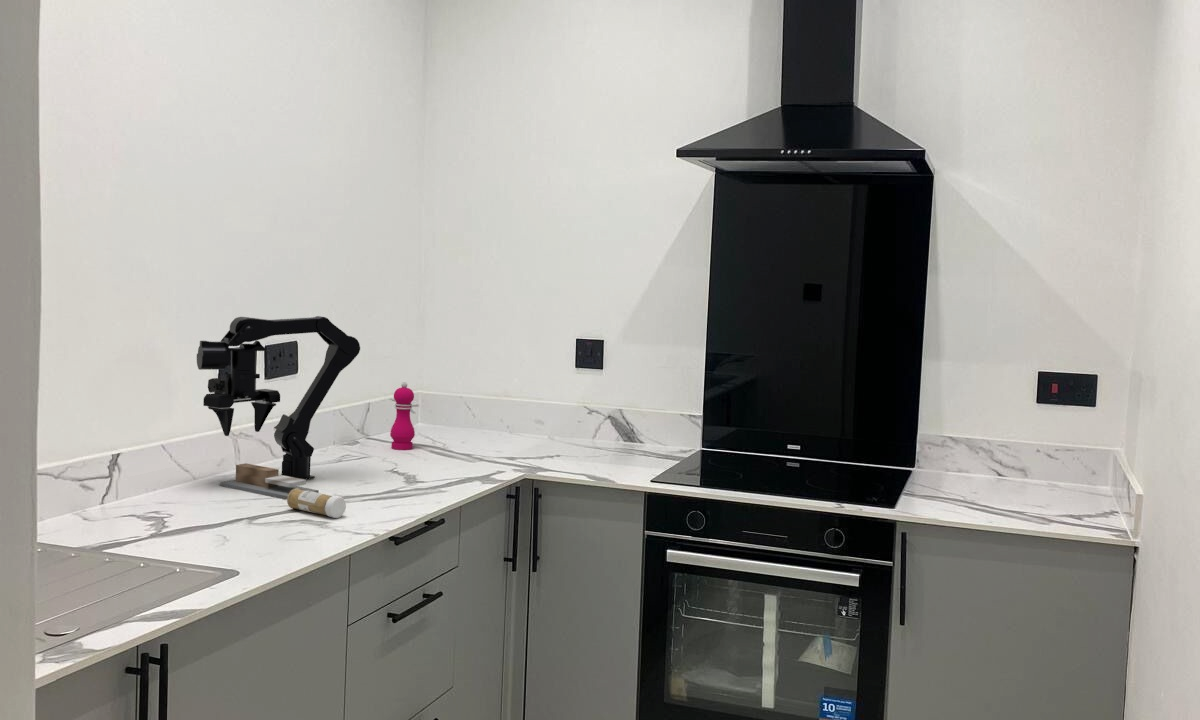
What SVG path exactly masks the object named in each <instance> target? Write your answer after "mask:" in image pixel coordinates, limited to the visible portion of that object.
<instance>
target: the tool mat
mask: <svg viewBox="0 0 1200 720" xmlns="http://www.w3.org/2000/svg"><path fill="white" fill-rule="evenodd" d="M219 487H224V488H228V489H229V488H230V489H234V490H240V491H243V492H249V493H254V494H258V495H262V496H263V495H264V496H268V497H273V498H277V499H282V500H283V499H284V500H286V501H287V497H288V494H289V493H290V491H291V490H293V489H295V488H298V489H300V490H305V491H312V492H317V493H320V491H319V489H314V488H308V487H303V486H300V485H299V486H295V487H285V486H280V485H278V486H277V487H272V488H265V487H260V486H255V485H250V484H245V483H241V482H236V478H235V479H231V480H226V481H220V482H219Z"/></svg>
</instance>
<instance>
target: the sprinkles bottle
mask: <svg viewBox="0 0 1200 720" xmlns="http://www.w3.org/2000/svg"><path fill="white" fill-rule="evenodd" d="M286 502H287V506H288V507H289V508H290V509H293V510H294V509H295V510H300V511H303V512H304V511H305V512H309V513H313V514H318V515H324V516H328V517H329V518H333V519H339V518H341V517H343V515H344V513H345V512H346V508H347V503H346V500H345V498H343V497H341V496H337V495H329V494H326V493H325V494H324V493H321V492H319V493H317V492H312V491H305V490H300V489H298V488H295V489H293V490H291V491H290V493H289V494H288V497H287V500H286Z"/></svg>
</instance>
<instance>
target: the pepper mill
mask: <svg viewBox="0 0 1200 720" xmlns="http://www.w3.org/2000/svg"><path fill="white" fill-rule="evenodd" d="M414 399H415V393H414V391H413V390H412V389H411V388H409V387H408V383H407V382H402V383H401V387H399V388H397V389H396V390H395V391H394V393H393V400H394V401H395V405H394V408H395V409H396V417H395V420H394V422H393V423H392V424H393V425H392V426H391V429H390V435H389V436H390V437H391V439H392V442H391V449H393V450H396V451H408V450H412V449H413V448H414V447H413V444H414V443H413V441H412V440H414V438H415V435H416V433H415V432H416V431H415V428H414V425H413V423H412V419H411V409H412V408H413V404H412V402H413V401H414Z"/></svg>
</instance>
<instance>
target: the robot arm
mask: <svg viewBox="0 0 1200 720" xmlns="http://www.w3.org/2000/svg"><path fill="white" fill-rule="evenodd" d="M311 333H313V334H314V333H315V334H318V336H319V337H320V338H321V339H322V341H324V342H325V343H326V344H327V345H328V347H327V349H326V352H325V356H324V362H323V365H322V366H321V367H320V370H319V371H318V373H316V376H315V378H314V379H313V381H312V383H311V384H310V385H309V388H307V391H306V392H305V394H304V396H303V397H302V399H301V400H300V401H299V404H298V405H297V407H296V408H295V409H294V411H293V412H292V413H291V414H290V415H286V414H284V413H283V414H282V416H281V417H280V420H279V421H278V424H276V425H275V426H274V429H275V431H274V433H273V437H274V440H275V443H276V444H277V445H279V446H280V449H281V451H282V453H285V454H283V455H282V461H281V475H284V476H289V477H294V478H299V479H304V480H306V481H307V480H311V479H312V480H313V479H315V477H316V476H315V475H311V457H312V455H313V453H314V450H315V448H314V447H313V446H312V445H311V444H310V443H309V442H308V441H307V437H308V434H309V432H310V426H311V421H312V419H313V417H314V416H315V414H316V412H317V410H318V409H319V408H320V406H321V404H322V402H323V401H324V399H325V398H326V396H327V394H328V392H329V391H330V389H331V388H332V386H333V384H334V383H335V381H336V379H337V378H338V376H339V375H340V373H341V372H342V371H343V370H344V369H346V368H347V367H348V366H349V365H350V364H351V363H352V362H353V361H354V360H355V359H356V357H357V356H358V355H359V354H360V351H361V345H360V342H359V340H358V339H357V338H356V337H353V336H351V335H348V334H347V333H346V332H345V331H343V330H342V329H340V328H339V327H338V326H337V325H335V324H334V323H333V322H331V320H330V319H329V318H327V317H326V316H319V315H317V316H316V315H315V316H314V317H298V318H297V317H296V318H295V317H293V318H280V319H279V318H278V319H267V318H266V319H264V318H257V317H249V316H238V317H237V316H236V317H235V318H234V319H233V320H232V321H231V322H230V325H229V330H228V331H227V332H226V333H225V334H224V336H223V337H222V339H221V340H219V341H211V340H210V341H208V340H200V341H199V346H198V349H197V353H196V366H197V369H198V370H201V371H204V370H206V371H207V370H212V371H213V370H215V371H216V370H219V371H220V370H225V369H226V367H229V366H230V372H227V373H226V376H225V377H226V378H225V379H224V380H220V379H219V378H218V377H216V378H215V377H213V378H209V379H208V381H207V388H208V392H209V393H206V394H205V395H204V396H203V403H202V404H203V407H207V408H208V409H209V410H211V411H213V412H214V414H216V417H217V418H218V421H219V424H220V426H221V427H220V428H222V432H223V435H224V437H229V436H230V433H231V429H232V422H233V417H234V411H235V408H234V407H232V406H233V405H234V404H236V403H246V402H250V403H251V406H252V407H253V410H254V431H255V432H256V433H258V432H260V431H261V429H262V428H263V425H264V424H265V422H266V420H267V418H268V416H269V415H270V413H271V411H272V410H273V408H274V407H277V403H280V402H281V393H280V392H279V390H276V389H270V388H269V389H268V388H260V389H257V379H261V378H260V377H261V374H260V373H257V356H258V355H257V354H258V353H257V352H265V351H266V350H267V349H266V347H264V345H263V344H262V343H261V341H259V340H263V339H267V338H268V337H269V338H270V337H273V336H280V335H281V336H282V335H283V336H284V335H296V334H299V335H300V334H311ZM250 342H251V343H250ZM252 342H253V343H252ZM230 364H231V365H230Z"/></svg>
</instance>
